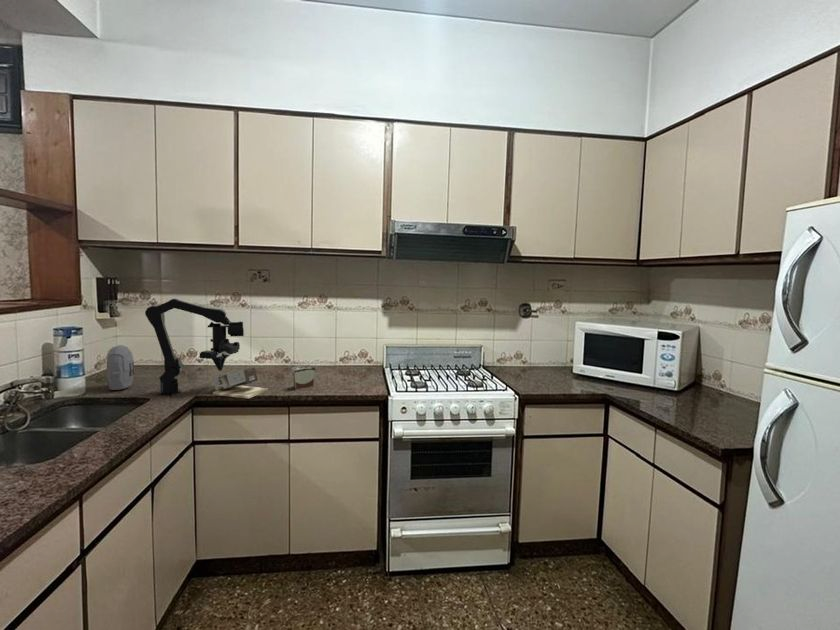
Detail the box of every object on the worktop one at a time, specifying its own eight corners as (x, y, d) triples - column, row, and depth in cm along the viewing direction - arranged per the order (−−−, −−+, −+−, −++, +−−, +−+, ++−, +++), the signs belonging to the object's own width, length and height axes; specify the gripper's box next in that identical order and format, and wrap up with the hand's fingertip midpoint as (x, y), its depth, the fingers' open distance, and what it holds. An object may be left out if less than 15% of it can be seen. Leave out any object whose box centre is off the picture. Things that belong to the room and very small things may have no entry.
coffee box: (215, 391, 190) (246, 384, 186) (212, 377, 190) (243, 370, 186) (228, 387, 199) (258, 380, 195) (225, 373, 199) (255, 366, 195)
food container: (309, 383, 210) (309, 364, 209) (316, 386, 206) (316, 366, 205) (286, 387, 201) (286, 367, 200) (292, 390, 197) (292, 369, 196)
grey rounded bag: (119, 384, 199) (118, 342, 197) (139, 383, 201) (138, 342, 199) (105, 393, 184) (103, 348, 182) (126, 392, 186) (125, 347, 185)
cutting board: (213, 394, 187) (213, 392, 187) (234, 386, 200) (234, 384, 200) (248, 398, 182) (248, 396, 182) (267, 390, 196) (267, 388, 196)
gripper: (219, 340, 181) (220, 376, 183) (248, 335, 199) (248, 367, 201) (198, 339, 184) (199, 374, 185) (227, 333, 202) (228, 365, 203)
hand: (220, 370), depth 194 cm, fingers closed
